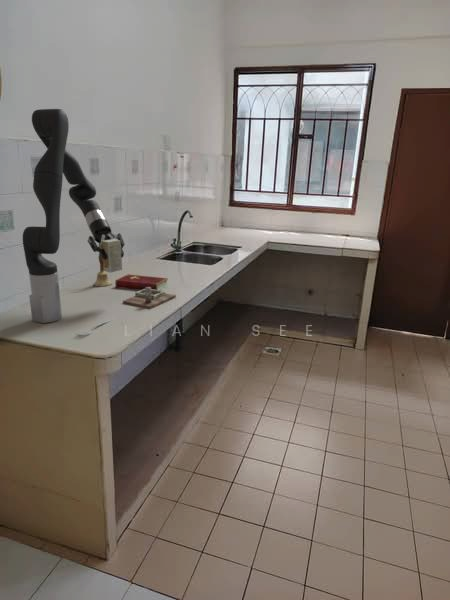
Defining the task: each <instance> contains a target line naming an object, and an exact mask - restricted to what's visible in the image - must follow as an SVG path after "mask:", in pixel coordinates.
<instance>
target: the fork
mask: <svg viewBox="0 0 450 600" xmlns="http://www.w3.org/2000/svg"><path fill="white" fill-rule="evenodd" d="M115 319H116V317H110V318H109V319H106V320H105V321H102V322H101V323H97V324H95V325H94V326H93V327H92V328H90V329H89V331H90V332H79V333H78V332H77V333H76V336H77V335H78V336H87V335H91V334H92V333H91V332H94V331H95V329H96V328H97V327H98V326H100V325H104V324H107V323H108V322H109V323H110V322H111V321H113V320H115Z"/></svg>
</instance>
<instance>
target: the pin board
mask: <svg viewBox="0 0 450 600" xmlns="http://www.w3.org/2000/svg"><path fill="white" fill-rule="evenodd" d="M175 298H177V294H173V293H172V294H171V293H167V292H166V291H165V290H161V289H160V290H154V289H151V287H146V288H145V289H143V290H138V291H135V292H134V296H132V297H129V298H126V299H124V300H122V304H125V305H131V306H135V307H141V308H146V309H154V308H156V307H158V306H160V305H163V304H164V303H167V302H169V301H171V300H173V299H175Z"/></svg>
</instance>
